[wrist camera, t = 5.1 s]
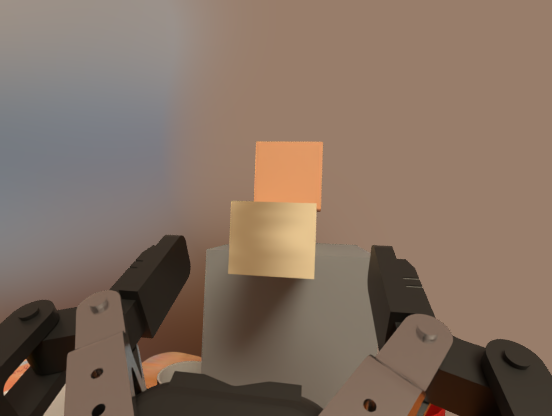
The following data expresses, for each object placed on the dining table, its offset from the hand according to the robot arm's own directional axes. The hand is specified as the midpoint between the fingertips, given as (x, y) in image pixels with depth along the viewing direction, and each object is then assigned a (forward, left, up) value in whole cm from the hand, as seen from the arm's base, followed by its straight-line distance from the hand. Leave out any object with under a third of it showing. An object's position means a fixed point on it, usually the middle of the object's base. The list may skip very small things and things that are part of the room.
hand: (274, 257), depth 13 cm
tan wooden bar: (0, +11, -1) cm, 11 cm away
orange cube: (0, +7, +2) cm, 7 cm away
